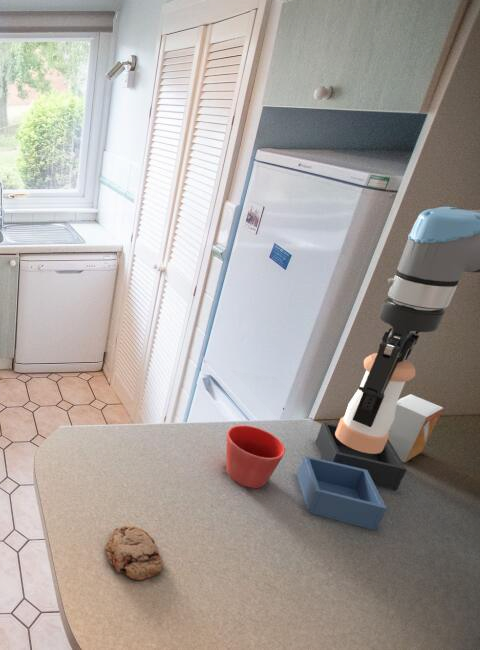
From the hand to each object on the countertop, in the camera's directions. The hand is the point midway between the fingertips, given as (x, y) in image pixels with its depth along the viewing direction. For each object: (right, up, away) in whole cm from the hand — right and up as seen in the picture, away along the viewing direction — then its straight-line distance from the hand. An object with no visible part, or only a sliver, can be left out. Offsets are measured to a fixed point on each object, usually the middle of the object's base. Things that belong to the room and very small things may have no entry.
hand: (368, 415), depth 85 cm
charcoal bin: (+13, -16, +19) cm, 28 cm away
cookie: (-46, -25, -2) cm, 52 cm away
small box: (+27, -14, +23) cm, 38 cm away
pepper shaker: (0, -6, +2) cm, 6 cm away
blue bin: (+1, -20, +9) cm, 22 cm away
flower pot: (-14, -17, +16) cm, 27 cm away
